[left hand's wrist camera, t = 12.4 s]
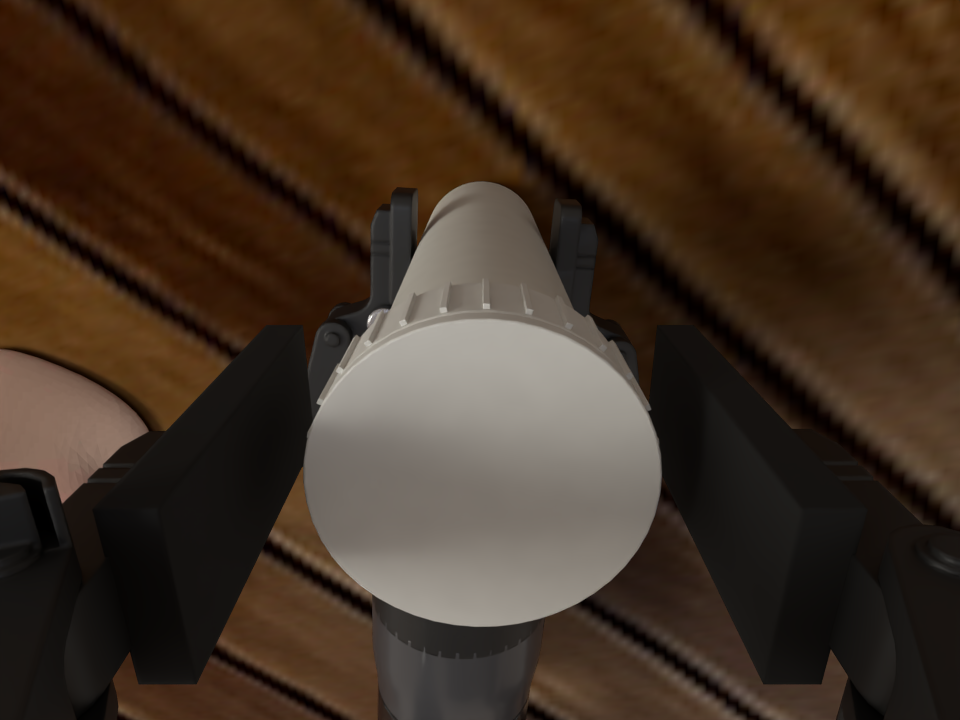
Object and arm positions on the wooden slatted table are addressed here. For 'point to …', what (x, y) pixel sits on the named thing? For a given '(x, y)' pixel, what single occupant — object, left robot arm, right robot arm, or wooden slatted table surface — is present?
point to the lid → (482, 457)
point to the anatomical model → (59, 421)
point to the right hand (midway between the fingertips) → (486, 198)
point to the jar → (481, 245)
